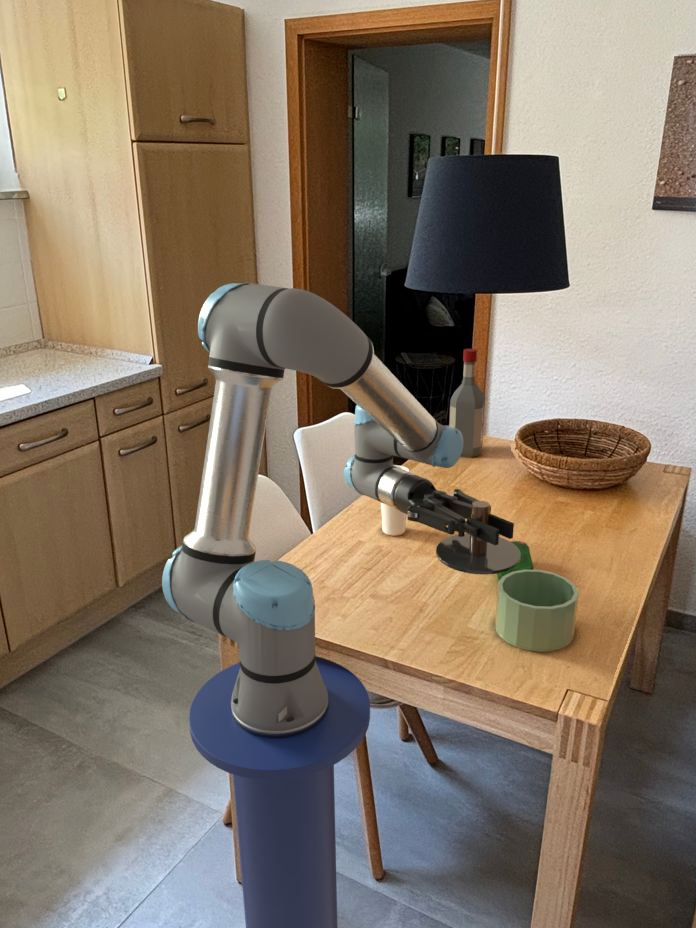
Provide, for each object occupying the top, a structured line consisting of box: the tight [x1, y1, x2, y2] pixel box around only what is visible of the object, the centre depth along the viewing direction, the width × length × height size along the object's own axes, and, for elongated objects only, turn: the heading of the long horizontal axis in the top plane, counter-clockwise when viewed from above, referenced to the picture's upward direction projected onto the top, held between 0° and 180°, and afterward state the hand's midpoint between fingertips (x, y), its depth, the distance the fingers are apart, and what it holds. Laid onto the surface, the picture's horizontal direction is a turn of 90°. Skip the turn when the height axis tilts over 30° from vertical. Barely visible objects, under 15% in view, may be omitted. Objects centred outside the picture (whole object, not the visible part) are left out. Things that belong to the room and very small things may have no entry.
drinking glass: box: [379, 464, 410, 537], centre depth 173 cm, size 7×7×15 cm
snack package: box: [496, 540, 535, 582], centre depth 156 cm, size 7×16×5 cm, turn 173°
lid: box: [435, 500, 521, 576], centre depth 133 cm, size 15×15×10 cm
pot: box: [494, 569, 580, 653], centre depth 136 cm, size 14×14×8 cm
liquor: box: [448, 348, 486, 458], centre depth 219 cm, size 9×9×30 cm
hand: (504, 534), depth 129 cm, fingers closed on lid, 3 cm apart
